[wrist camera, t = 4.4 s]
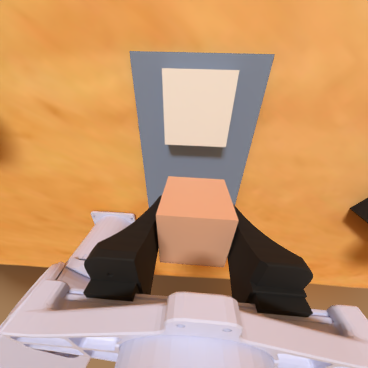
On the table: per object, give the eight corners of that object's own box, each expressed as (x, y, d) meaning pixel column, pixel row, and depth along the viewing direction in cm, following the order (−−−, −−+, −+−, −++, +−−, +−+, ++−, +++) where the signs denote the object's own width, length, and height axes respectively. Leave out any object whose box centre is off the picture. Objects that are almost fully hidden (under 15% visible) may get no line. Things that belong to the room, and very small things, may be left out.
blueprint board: (231, 209, 25) (235, 221, 23) (150, 204, 25) (145, 216, 23) (270, 56, 15) (285, 48, 12) (132, 53, 15) (120, 45, 13)
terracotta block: (215, 220, 16) (223, 267, 11) (169, 217, 16) (160, 262, 12) (224, 179, 13) (238, 220, 9) (168, 176, 13) (155, 214, 9)
